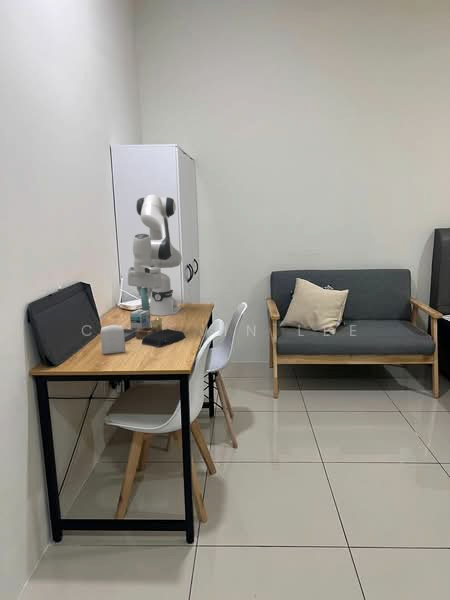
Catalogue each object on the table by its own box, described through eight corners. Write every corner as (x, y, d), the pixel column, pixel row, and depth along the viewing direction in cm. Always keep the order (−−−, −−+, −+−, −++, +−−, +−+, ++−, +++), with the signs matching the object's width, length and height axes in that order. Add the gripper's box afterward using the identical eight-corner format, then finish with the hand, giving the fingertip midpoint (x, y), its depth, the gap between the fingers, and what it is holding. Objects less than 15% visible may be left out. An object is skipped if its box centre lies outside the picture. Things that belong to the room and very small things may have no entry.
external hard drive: (139, 344, 217) (139, 336, 216) (167, 335, 232) (167, 327, 231) (160, 348, 209) (159, 340, 209) (187, 338, 225) (186, 330, 224)
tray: (122, 333, 235) (122, 328, 235) (138, 334, 233) (138, 329, 232) (109, 340, 222) (108, 335, 222) (125, 341, 220) (125, 336, 219)
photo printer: (101, 354, 201) (99, 327, 198) (101, 351, 205) (99, 325, 202) (125, 352, 203) (124, 325, 201) (125, 349, 207) (123, 323, 205)
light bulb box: (142, 334, 233) (141, 313, 231) (130, 333, 235) (129, 313, 233) (151, 329, 243) (150, 309, 241) (140, 328, 245) (138, 308, 243)
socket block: (143, 334, 232) (142, 327, 231) (157, 335, 230) (157, 327, 229) (135, 338, 225) (135, 331, 224) (150, 339, 223) (150, 331, 222)
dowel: (140, 310, 224) (138, 288, 222) (146, 309, 227) (144, 287, 225) (145, 311, 222) (143, 288, 220) (151, 309, 225) (149, 287, 223)
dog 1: (153, 333, 235) (152, 319, 234) (159, 333, 234) (158, 320, 233) (150, 334, 232) (150, 321, 231) (156, 335, 231) (156, 321, 230)
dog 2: (157, 330, 240) (156, 317, 238) (163, 330, 239) (162, 317, 238) (154, 332, 237) (154, 319, 235) (160, 332, 236) (160, 319, 235)
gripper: (123, 267, 224) (125, 295, 227) (153, 270, 212) (155, 299, 215) (133, 266, 229) (134, 293, 232) (163, 268, 217) (164, 297, 220)
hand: (144, 296), depth 223 cm, fingers closed on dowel, 4 cm apart
